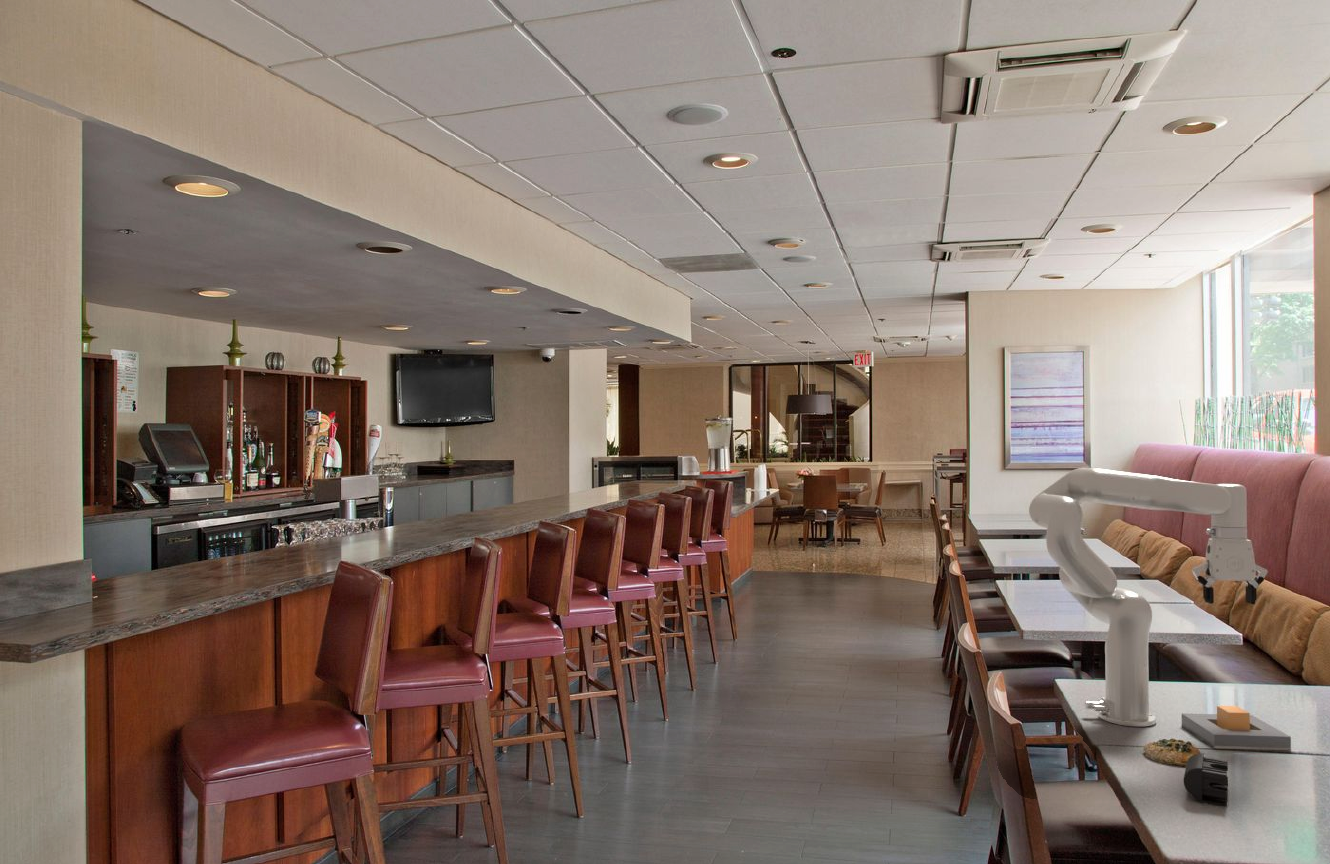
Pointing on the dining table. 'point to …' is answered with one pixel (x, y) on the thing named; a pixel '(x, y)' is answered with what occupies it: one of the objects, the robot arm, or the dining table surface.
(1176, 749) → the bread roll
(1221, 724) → the plug
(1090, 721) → the dining table surface
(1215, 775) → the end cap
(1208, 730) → the socket plate
